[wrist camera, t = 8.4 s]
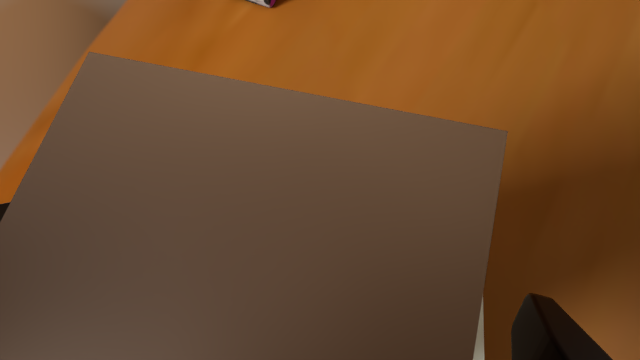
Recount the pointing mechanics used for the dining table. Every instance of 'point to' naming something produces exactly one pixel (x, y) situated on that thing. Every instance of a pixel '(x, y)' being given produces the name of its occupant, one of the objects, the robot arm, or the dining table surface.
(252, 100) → the walnut block
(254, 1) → the candy bar box
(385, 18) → the dining table surface
